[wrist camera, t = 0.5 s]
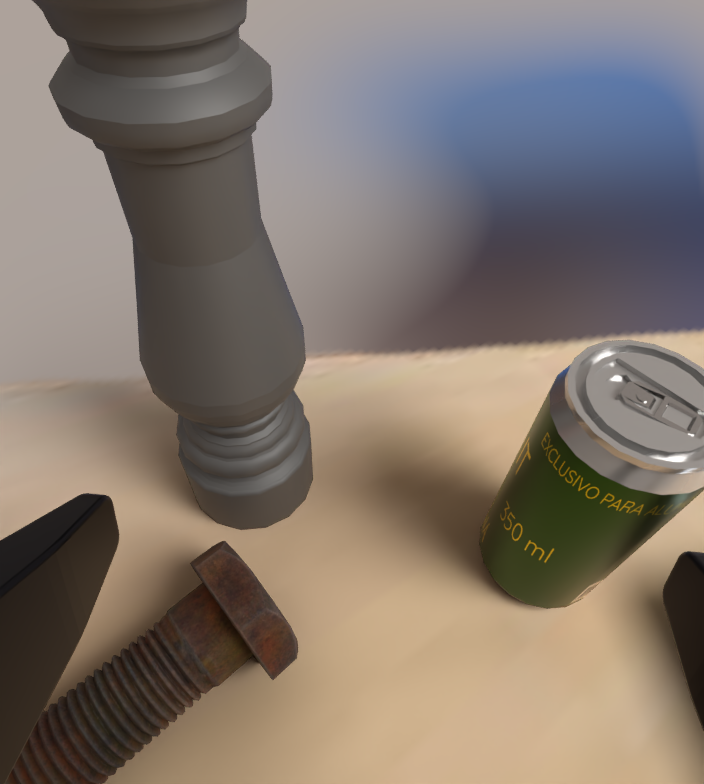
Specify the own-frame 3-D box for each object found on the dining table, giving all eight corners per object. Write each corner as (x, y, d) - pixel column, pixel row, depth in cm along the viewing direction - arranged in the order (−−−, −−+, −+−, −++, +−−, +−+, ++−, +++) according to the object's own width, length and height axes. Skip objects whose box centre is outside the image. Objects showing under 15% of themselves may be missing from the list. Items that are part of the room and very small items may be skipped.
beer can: (609, 549, 25) (769, 392, 16) (559, 640, 23) (716, 515, 14) (510, 484, 28) (602, 311, 18) (454, 560, 25) (527, 404, 16)
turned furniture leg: (185, 440, 29) (-122, -361, 9) (297, 414, 30) (233, -334, 11) (201, 545, 25) (-251, -416, 6) (327, 510, 26) (317, -364, 7)
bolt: (-87, 898, 19) (262, 605, 25) (-101, 1073, 15) (319, 672, 21) (-223, 822, 16) (205, 515, 22) (-286, 1012, 12) (258, 573, 18)
